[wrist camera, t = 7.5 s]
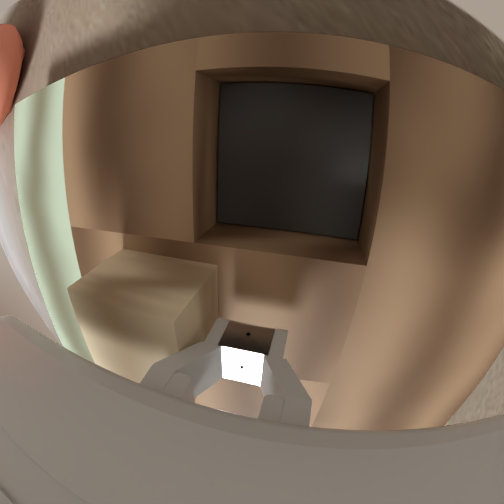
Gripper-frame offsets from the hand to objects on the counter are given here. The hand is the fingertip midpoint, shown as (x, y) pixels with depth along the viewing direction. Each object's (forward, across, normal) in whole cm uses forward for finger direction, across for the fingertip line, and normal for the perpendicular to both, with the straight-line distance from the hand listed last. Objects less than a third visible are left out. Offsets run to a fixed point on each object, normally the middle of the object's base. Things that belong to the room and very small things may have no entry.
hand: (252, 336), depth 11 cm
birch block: (+1, -4, 0) cm, 5 cm away
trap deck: (+4, -1, 0) cm, 5 cm away
